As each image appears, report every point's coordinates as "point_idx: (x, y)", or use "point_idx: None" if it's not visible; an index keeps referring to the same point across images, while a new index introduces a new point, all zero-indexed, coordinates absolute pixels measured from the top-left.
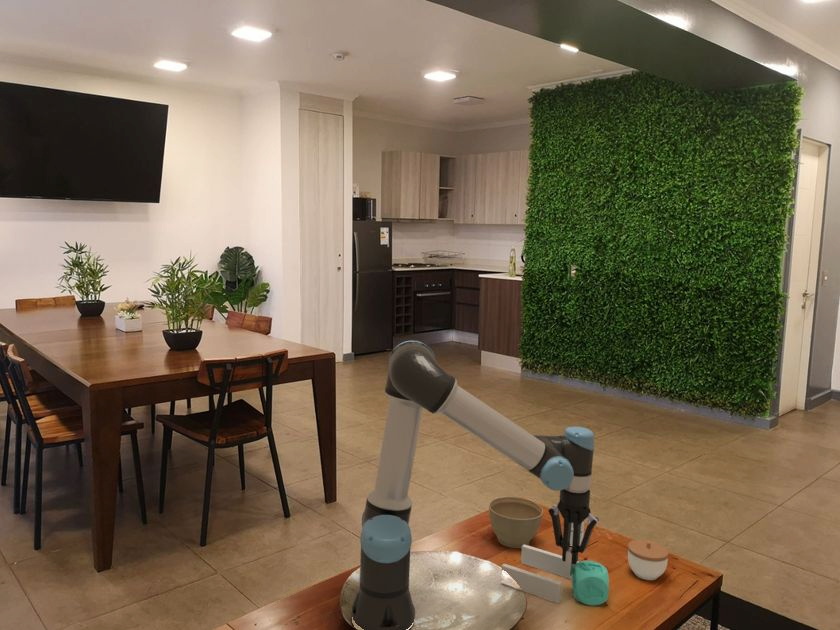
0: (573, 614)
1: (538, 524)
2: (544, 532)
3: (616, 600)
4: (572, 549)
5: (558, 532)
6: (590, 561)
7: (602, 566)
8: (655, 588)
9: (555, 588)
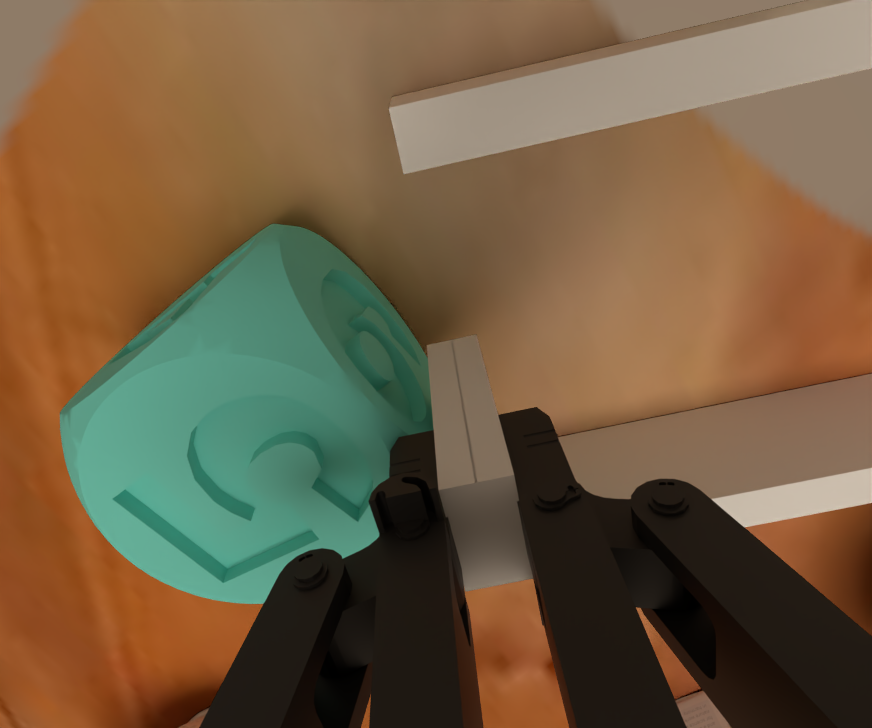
0: (214, 46)
1: None
2: None
3: None
4: (437, 534)
5: (781, 673)
6: None
7: (198, 582)
8: (125, 680)
9: (431, 94)
